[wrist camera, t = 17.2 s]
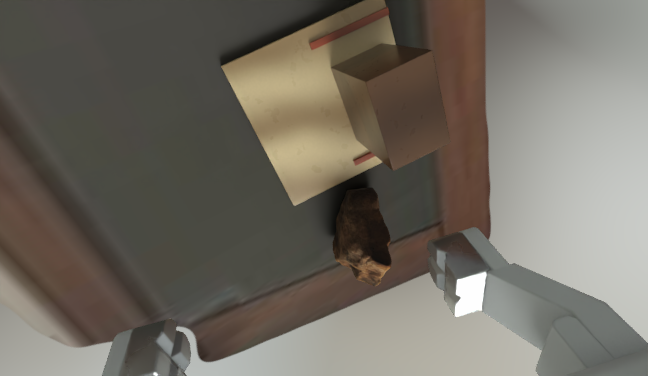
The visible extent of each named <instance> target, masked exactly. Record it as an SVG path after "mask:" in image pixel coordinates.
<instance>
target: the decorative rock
mask: <svg viewBox="0 0 648 376" xmlns="http://www.w3.org/2000/svg"><path fill="white" fill-rule="evenodd" d="M336 229H337V232H336V234H335V237H334V241H333V252H334V254H335V259H336V261H337V262H340V263H341V264H342V265H344V266H347V267H349V268H351V269H352V271H353V273H354V275H355V277H356V279H357V280H361V281H363V282H366V283H368V284H370V285H373V286H376V285H379V284H380V282H381V281H380V280H381V277H383V275H384V273H385V272H386V271H387V270H388V269H390V267H391V262H392V261H391V257H390V254H389V251H388V246H389V243H390V235H389V231H388V228H387V227H386V225H385V223H384V220H383V217H382V215H381V213H380V211H379V201H378V195H377V193H376V192H375V190H374V189H373V188H361V189H353V190H347V192H346V196H345V198H344V200H343V202H342V204H341V208H340V212H339V214H338V216H337V219H336Z"/></svg>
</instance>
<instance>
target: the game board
mask: <svg viewBox="0 0 648 376" xmlns="http://www.w3.org/2000/svg"><path fill="white" fill-rule="evenodd" d="M388 15H389V10H388V7H386V4H385V0H363V1H361V2H359V3H356V4H354V5H352V6H350V7H348V8H345V9H343V10H341V11H339V12H337V13H335V14H332V15H330V16H328V17H326V18H324V19H322V20H319V21H317V22H315V23H313V24H311V25H309V26H306V27H304V28H302V29H300V30H298V31H295V32H293V33H291V34H289V35H287V36H285V37H282V38H280V39H278V40H276V41H274V42H272V43H269V44H267V45H265V46H263V47H261V48H259V49H256V50H254V51H252V52H250V53H248V54H245V55H243V56H241V57H239V58H237V59H235V60H232V61H230V62H228V63H226V64H224V65H222V66H221V67H222V69H223V71H224V73H225V75H226V77H227V79H228V81H229V82H230V84H231V86H232V88H233V90H234V92H235V94H236V96H237V98H238V100H239V102H240V103H241V105H242V107H243V109H244V111H245V113H246V115H247V117H248V119H249V121H250V123H251V125H252V126H253V128H254V130H255V132H256V134H257V136H258V138H259V140H260V142H261V144H262V146H263V147H264V149H265V151H266V153H267V155H268V157H269V159H270V161H271V163H272V165H273V167H274V169H275V170H276V172H277V174H278V176H279V178H280V180H281V182H282V184H283V186H284V188H285V190H286V191H287V193H288V195H289V197H290V199H291V201H292V203H293V205H294V206H295V205H297V204H299V203H301V202H303V201H305V200H307V199H309V198H311V197H313V196H315V195H317V194H319V193H321V192H323V191H325V190H327V189H329V188H331V187H333V186H335V185H337V184H339V183H341V182H344V181H346V180H348V179H350V178H352V177H354V176H356V175H358V174H360V173H362V172H364V171H366V170H368V169H370V168H372V167H374V166H376V165H378V164H380V163H382V161H381V160H380V159H379V158H377V157H376V156H375V155H374V154H373V153H372V152H370V151H369V150H368V149H367V148H366V147H365V146H363V145H362V144H361V143H360V142H359V141H357V140H356V137H355V134H354V132H353V129H352V126H351V123H350V120H349V118H348V115H347V112H346V109H345V107H344V104H343V101H342V98H341V95H340V93H339V90H338V87H337V84H336V81H335V79H334V76H333V73H332V70H331V67H333V66H335V65H337V64H339V63H341V62H343V61H345V60H348V59H350V58H352V57H354V56H356V55H358V54H360V53H362V52H364V51H367V50H369V49H371V48H373V47H375V46H377V45H379V44H381V43H385V44H392V45H396V44H395V40H394V36H393V32H392V28H391V24H390V20H389V16H388Z"/></svg>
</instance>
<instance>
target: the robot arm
mask: <svg viewBox="0 0 648 376" xmlns="http://www.w3.org/2000/svg"><path fill="white" fill-rule="evenodd" d="M428 251H429V252H430V254H431V255H430V257H429V258H428V267H429V271H430V274H431V276H432V279H433V281H434V283H435V284H436V286H437V287H438V288H440V289H441V290H443V291H444V300H445V301H446V303H447V305H448V306H449V308H450V310H451V311H452V313H453V315H454V316H455V317H458V316H461V315H465V314H468V313H472V312H476V311H479V310H482V312H484V313H485V314H487V315H488V316H490V317H491V318H493V319H495V320H496V321H498V322H499V323H501V324H502V325H504V326H505V327H507V328H508V329H510V330H511V331H513V332H514V333H516V334H518V335H519V336H521V337H522V338H523V339H525V340H527V341H528V342H530V343H531V344H533V345H534V346H536V347H537V348H539V349H540V350H542V353H541V355H540V358H539V361H538V364H537V367H536V372H537V374H538V375H539V376H648V343H647V342H646V341H645V340H644V339H643V338H642V337H641V336H640V335H639V334H638V333H637V332H636V331H635V330H634V329H633V328H632V327H630V326H629V325H628V324H627V323H626V322H625V321H624V320H623V319H622V318H621V317H620V316H619V315H618V314H617V313H616V312H615V311H614V310H613V309H612V308H610V307H609V305H608V304H606V303H605V302H603V301H601V300H598V299H596V298H594V297H592V296H589V295H587V294H585V293H582V292H580V291H577V290H575V289H573V288H570V287H568V286H566V285H563V284H561V283H559V282H556V281H554V280H552V279H550V278H547V277H545V276H543V275H540V274H538V273H536V272H533V271H531V270H528V269H526V268H524V267H522V266H519V265H517V264H510V265H509V263H508V262H507V261H506V260H505V259H504V258H503V257H502V256H501V254H500V253H499V252H498V251H497V250H496V249H495V247H494V246H493V245H492V244H491V243H490V242H489V241H488V240H487V238H486V237H485V236H484V235H483V234H482V233H481V232H480V230H479V229H477V228H475V227H473V228H470V229H467V230H463V231H460V232H456V233H452V234H449V235H446V236H443V237H440V238H437V239H433V240H430V241H429V242H428ZM176 327H177V324H176V323H175V322H174V321H173V320H172V319H168V320H164V321H160V322H157V323H153V324H149V325H146V326H142V327H138V328H135V329H131V330H128V331H124V332H121V333H118V334H117V336H116V337H115V338H114V340H113V343H112V346H111V349H110V352H109V356H108V358H107V362H106V365H105V368H104V371H103V374H102V376H186V374H185V373H184V371H185V370H186V368H187V367H188V365H189V364H190V357H191V351H190V343H189V341H188V339H187V337H186V335H185V334H184V333H183V332H180V331H176Z"/></svg>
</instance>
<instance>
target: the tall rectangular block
mask: <svg viewBox="0 0 648 376" xmlns="http://www.w3.org/2000/svg"><path fill="white" fill-rule="evenodd" d="M331 70H332V73H333V76H334V79H335V81H336V84H337V87H338V90H339V93H340V95H341V98H342V101H343V104H344V107H345V109H346V112H347V115H348V118H349V120H350V123H351V126H352V129H353V132H354V134H355V137H356V140H357V141H359V142H360V143H361V144H362V145H363V146H365V147H366V148H367V149H368V150H369V151H370V152H372V153H373V154H374V155H375V156H376V157H377V158H379V159H380V160H381V161H382V162H383V163H385V164H386V165H387V166H388V167H389V168H390V169H392V170H393V171H394V170H396V169H398V168H400V167H402V166H404V165H406V164H408V163H410V162H412V161H414V160H416V159H418V158H420V157H422V156H424V155H426V154H428V153H430V152H432V151H434V150H436V149H438V148H440V147H442V146H444V145H446V144H448V143H450V137H449V132H448V127H447V122H446V117H445V112H444V107H443V102H442V97H441V92H440V87H439V82H438V76H437V71H436V66H435V61H434V56H433V51H432V50H428V49H420V48H413V47H406V46H399V45H392V44H385V43H381V44H379V45H377V46H375V47H373V48H371V49H369V50H367V51H364V52H362V53H360V54H358V55H356V56H354V57H352V58H350V59H348V60H345V61H343V62H341V63H339V64H337V65H335V66H333V67H331Z"/></svg>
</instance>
